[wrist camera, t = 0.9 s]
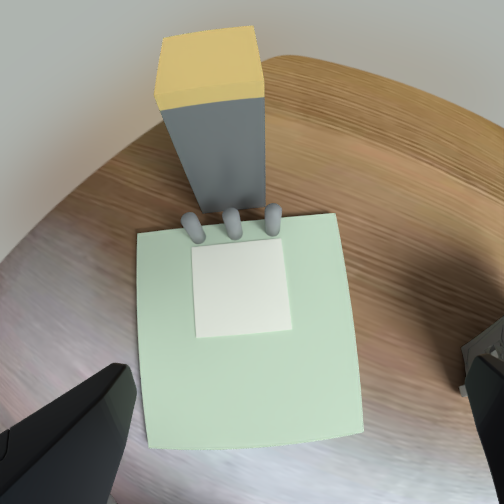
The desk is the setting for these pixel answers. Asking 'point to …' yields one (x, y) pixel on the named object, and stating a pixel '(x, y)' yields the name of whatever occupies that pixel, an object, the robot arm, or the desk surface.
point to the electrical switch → (484, 346)
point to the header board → (246, 333)
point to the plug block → (216, 114)
